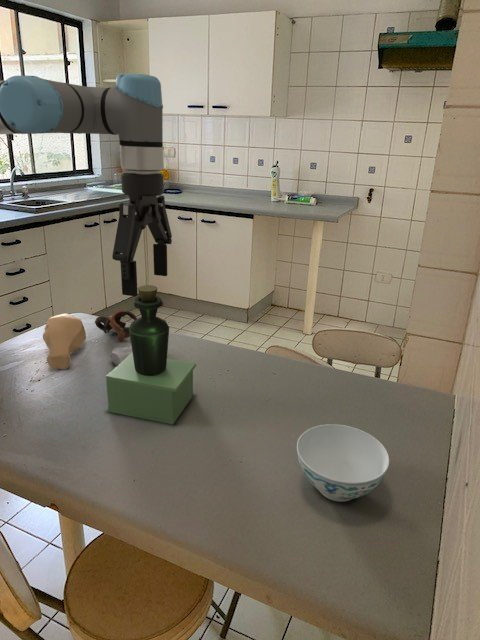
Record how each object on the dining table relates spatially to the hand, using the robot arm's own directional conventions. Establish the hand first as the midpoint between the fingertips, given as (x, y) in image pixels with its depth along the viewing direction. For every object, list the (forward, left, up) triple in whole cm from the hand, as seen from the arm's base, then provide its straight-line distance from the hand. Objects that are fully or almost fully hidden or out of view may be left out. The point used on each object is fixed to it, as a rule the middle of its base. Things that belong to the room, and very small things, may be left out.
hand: (146, 284), depth 91 cm
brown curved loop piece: (-25, +30, -28) cm, 48 cm away
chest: (0, 0, -27) cm, 27 cm away
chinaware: (+41, -14, -28) cm, 52 cm away
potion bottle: (0, 0, -19) cm, 19 cm away
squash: (-32, +15, -28) cm, 45 cm away
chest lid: (+1, 0, -20) cm, 20 cm away
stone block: (-11, +16, -28) cm, 34 cm away
